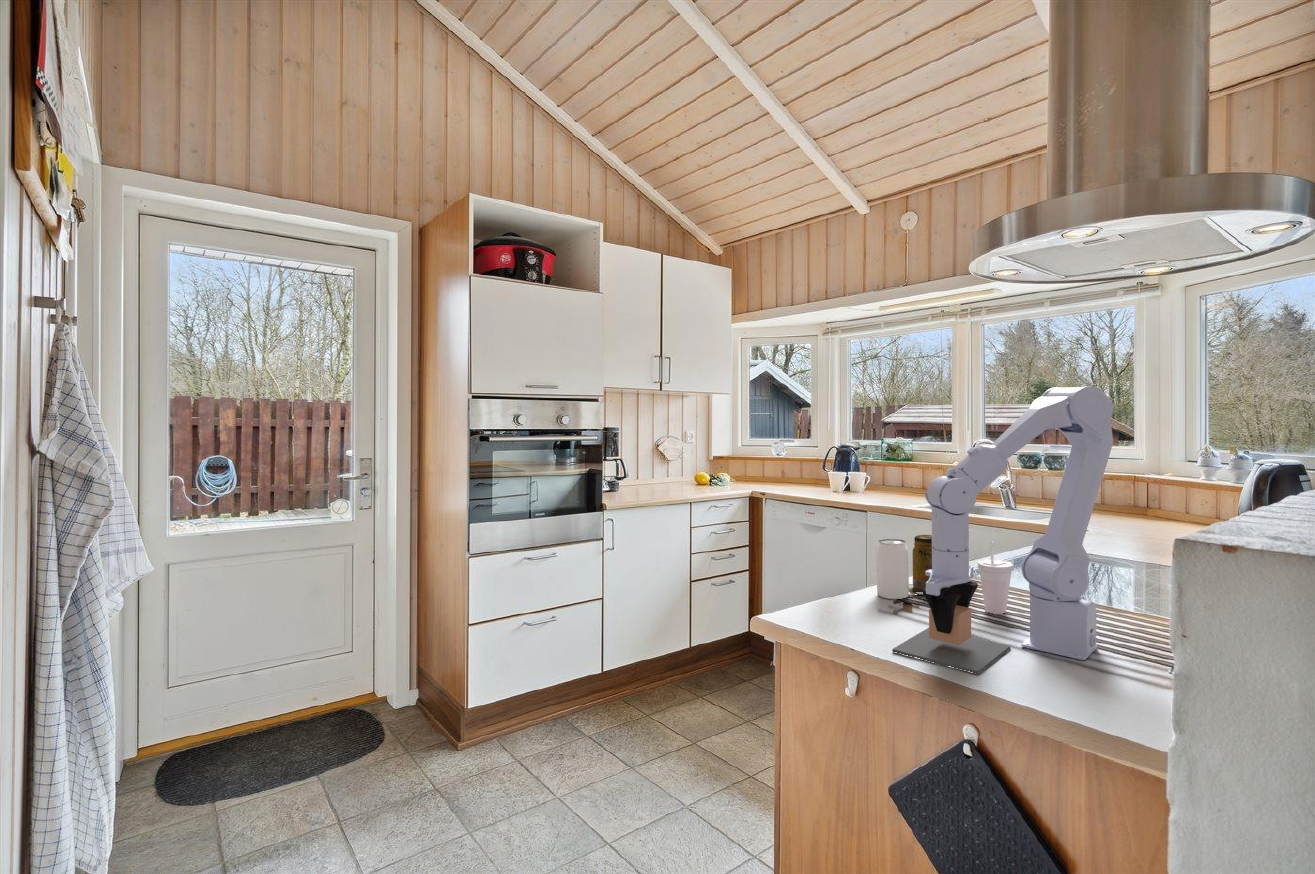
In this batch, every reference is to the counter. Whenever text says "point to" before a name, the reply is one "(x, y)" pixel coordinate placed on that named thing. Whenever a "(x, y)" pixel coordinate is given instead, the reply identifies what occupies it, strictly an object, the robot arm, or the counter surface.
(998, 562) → the smoothie
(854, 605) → the counter surface
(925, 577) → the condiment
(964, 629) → the cube
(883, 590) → the can
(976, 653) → the mat
